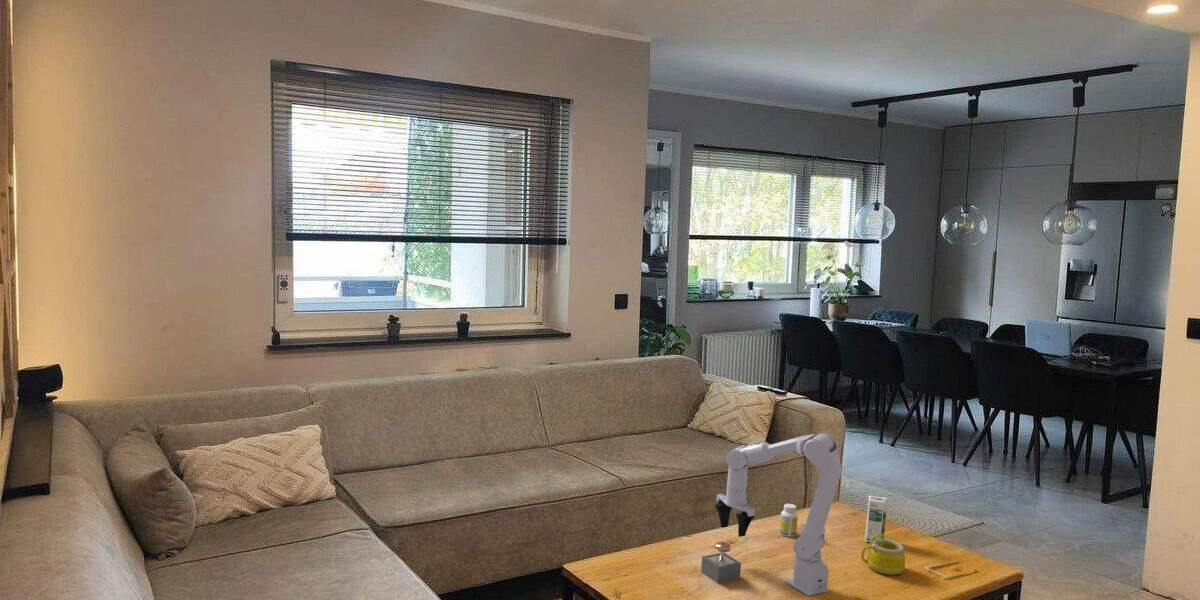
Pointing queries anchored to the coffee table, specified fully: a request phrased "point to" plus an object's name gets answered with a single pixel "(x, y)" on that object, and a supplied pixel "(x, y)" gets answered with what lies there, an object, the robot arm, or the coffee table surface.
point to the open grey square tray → (720, 569)
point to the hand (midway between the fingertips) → (733, 531)
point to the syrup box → (876, 517)
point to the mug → (885, 556)
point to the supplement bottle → (788, 521)
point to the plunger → (721, 554)
